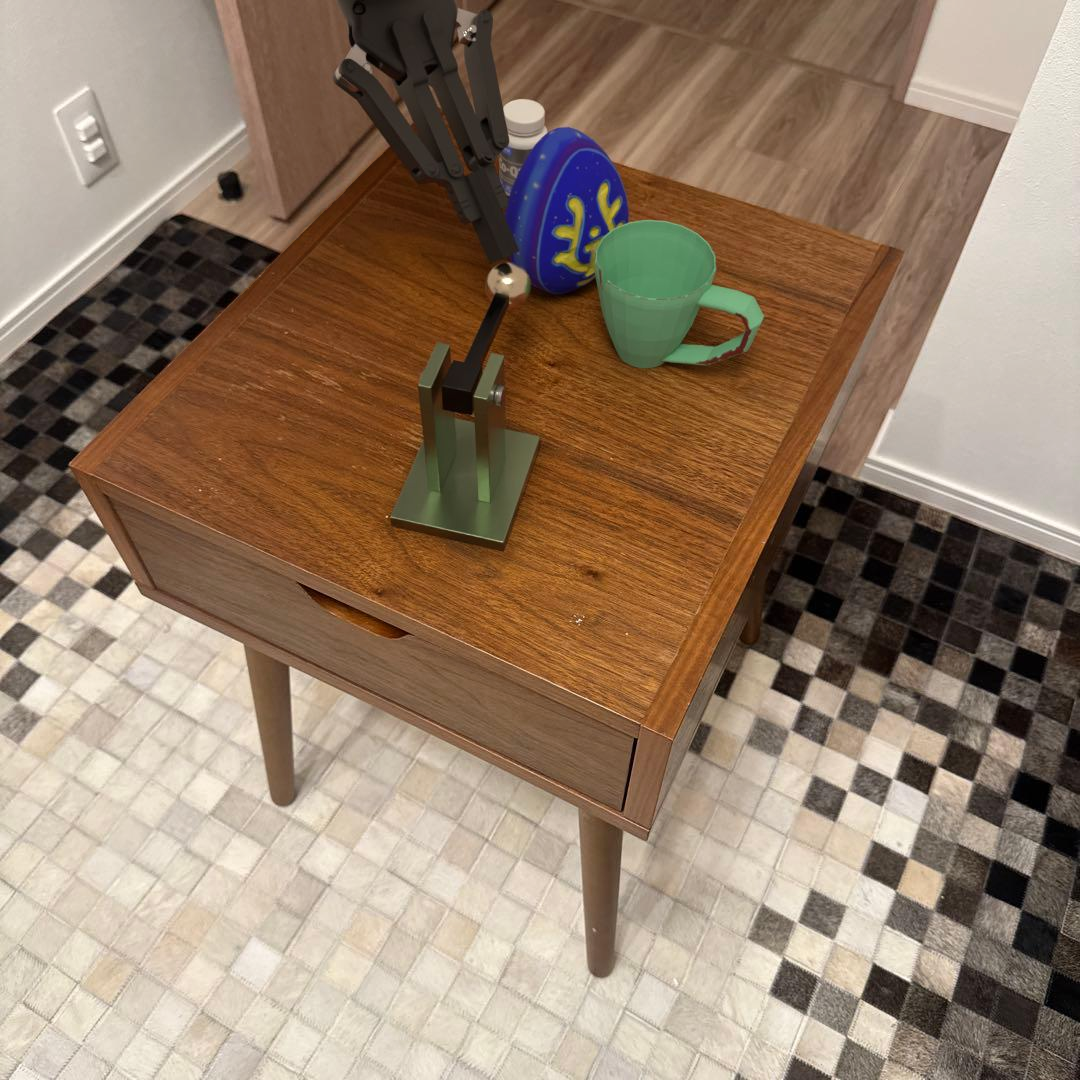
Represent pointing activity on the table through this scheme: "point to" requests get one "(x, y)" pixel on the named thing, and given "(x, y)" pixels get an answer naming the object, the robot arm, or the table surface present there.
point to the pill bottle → (520, 138)
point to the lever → (485, 335)
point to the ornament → (564, 209)
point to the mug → (665, 294)
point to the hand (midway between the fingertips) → (504, 257)
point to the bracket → (466, 462)
